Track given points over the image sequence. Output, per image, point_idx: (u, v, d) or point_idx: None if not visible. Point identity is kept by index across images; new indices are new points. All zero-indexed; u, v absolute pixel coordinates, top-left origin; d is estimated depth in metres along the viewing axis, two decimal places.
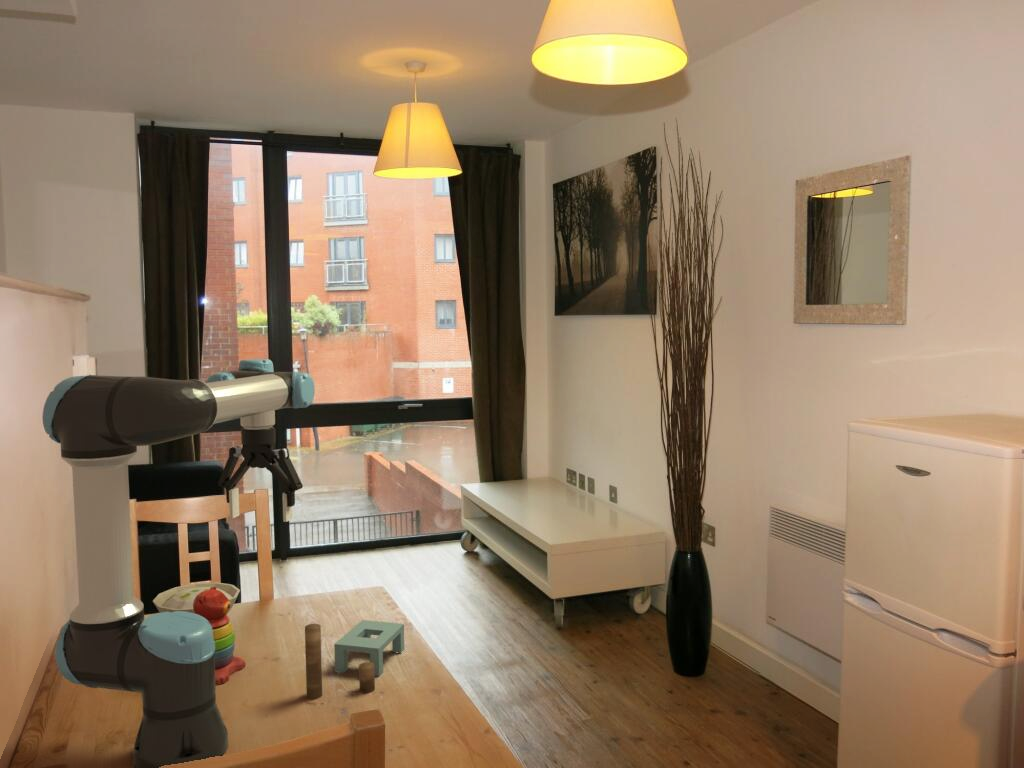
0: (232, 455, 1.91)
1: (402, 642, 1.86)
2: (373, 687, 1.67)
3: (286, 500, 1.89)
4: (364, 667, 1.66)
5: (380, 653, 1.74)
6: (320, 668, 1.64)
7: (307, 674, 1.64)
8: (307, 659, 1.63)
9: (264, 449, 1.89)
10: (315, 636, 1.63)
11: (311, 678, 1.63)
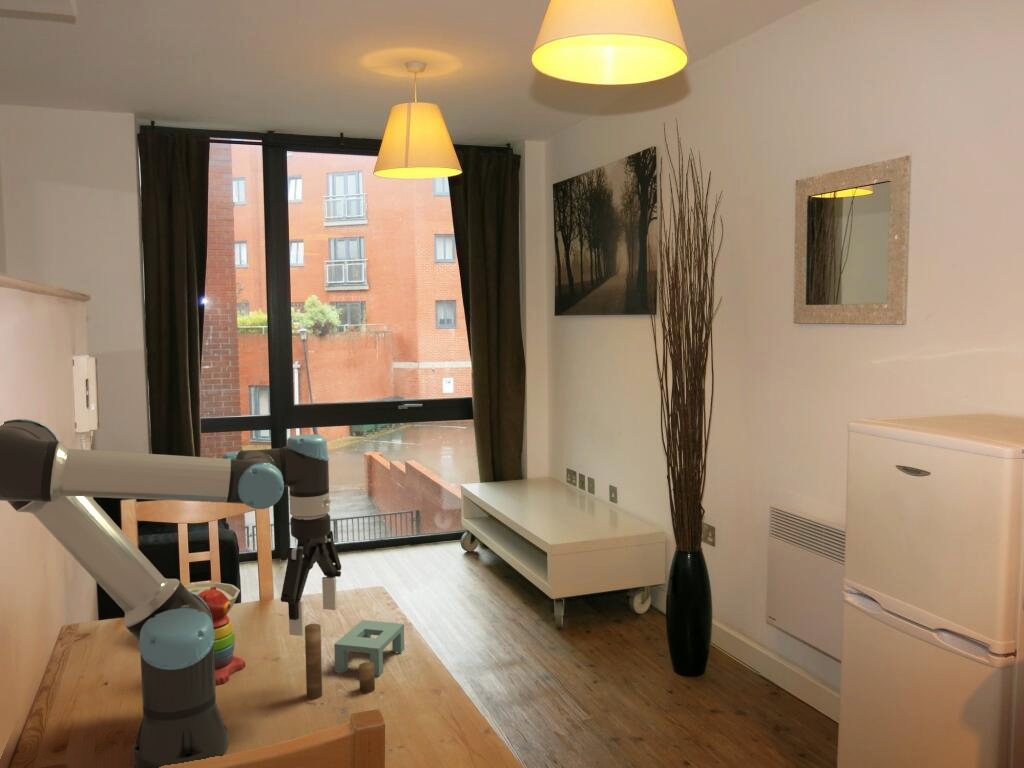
0: None
1: (402, 642, 1.86)
2: (373, 687, 1.67)
3: None
4: (364, 667, 1.66)
5: (380, 653, 1.74)
6: (320, 668, 1.64)
7: (307, 674, 1.64)
8: (307, 659, 1.63)
9: None
10: (315, 636, 1.63)
11: (311, 678, 1.63)
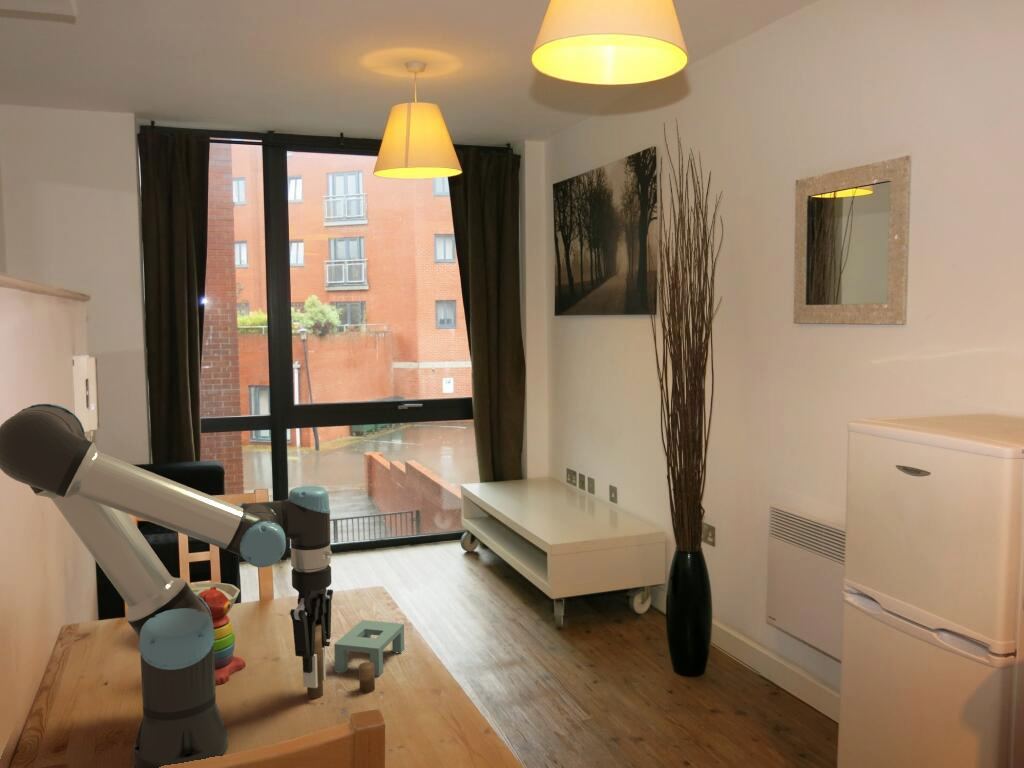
0: None
1: (402, 642, 1.86)
2: (373, 687, 1.67)
3: None
4: (364, 667, 1.66)
5: (380, 653, 1.74)
6: (321, 668, 1.65)
7: None
8: None
9: None
10: (315, 635, 1.63)
11: None
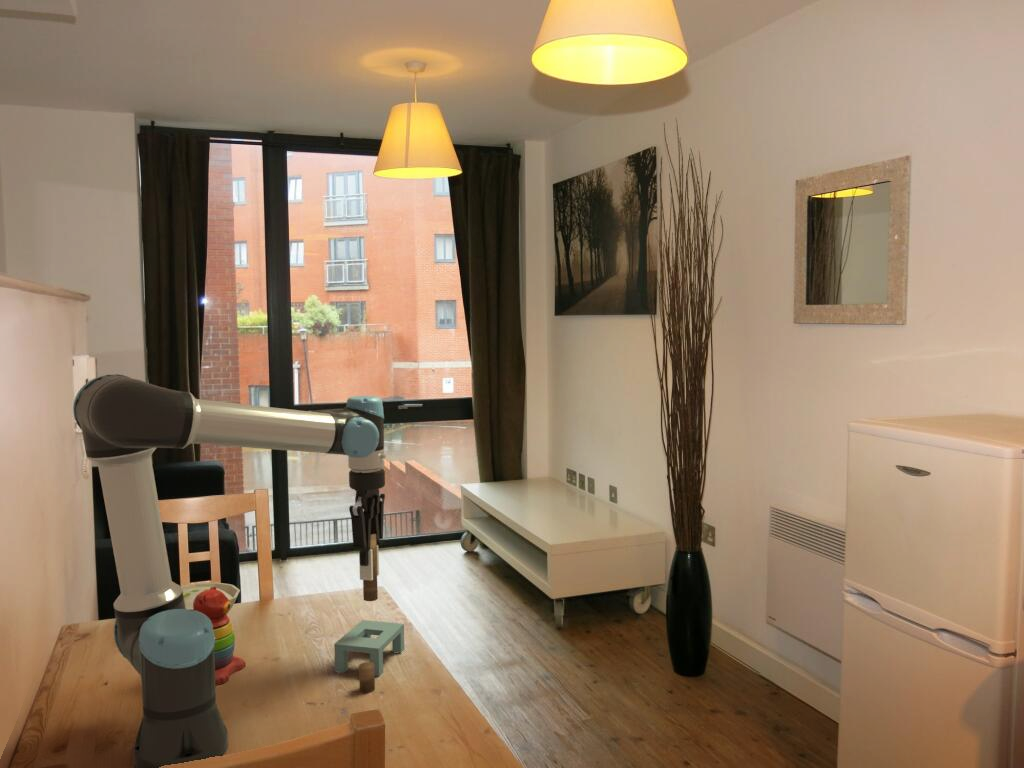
0: None
1: (402, 642, 1.86)
2: (373, 687, 1.67)
3: None
4: (364, 667, 1.66)
5: (380, 653, 1.74)
6: (376, 573, 1.79)
7: None
8: None
9: None
10: (371, 543, 1.78)
11: (368, 582, 1.79)
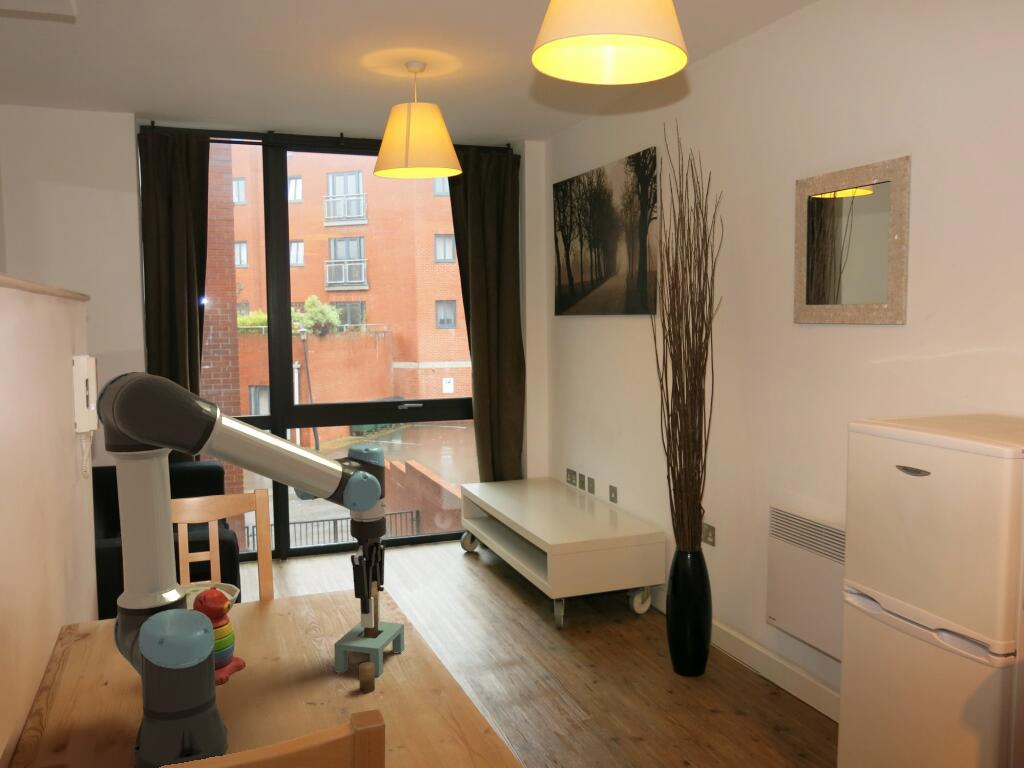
0: None
1: (402, 642, 1.86)
2: (373, 687, 1.67)
3: None
4: (364, 667, 1.66)
5: (380, 653, 1.74)
6: (377, 620, 1.81)
7: None
8: None
9: None
10: (372, 590, 1.79)
11: (369, 629, 1.80)
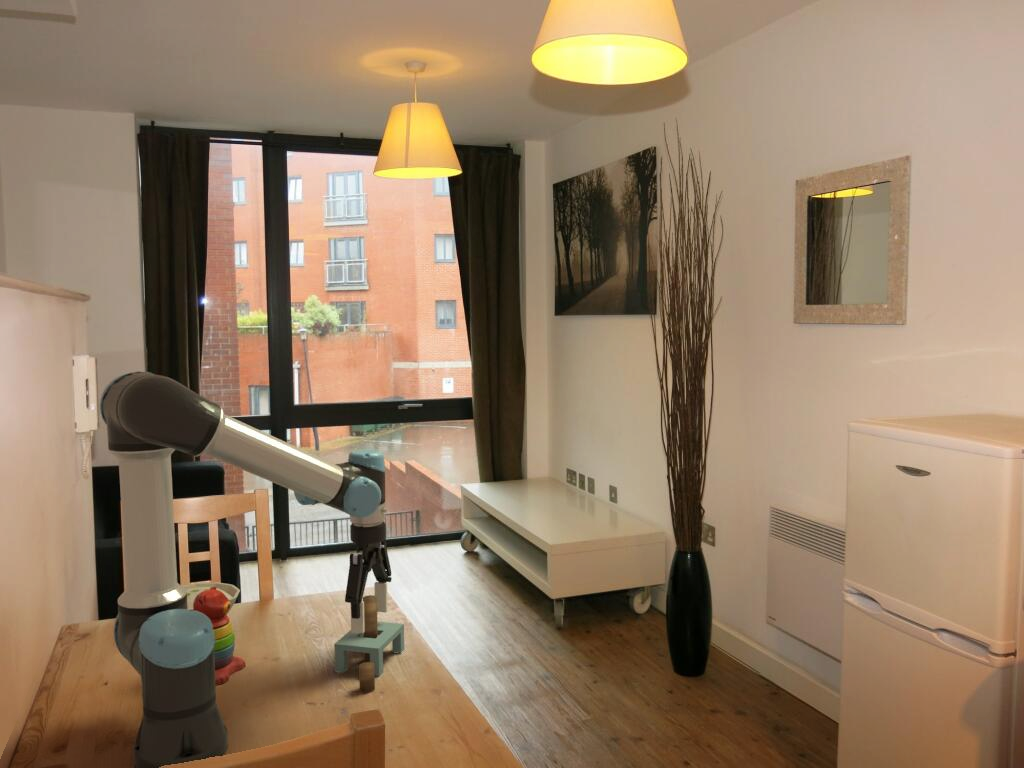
0: None
1: (402, 642, 1.86)
2: (373, 687, 1.67)
3: None
4: (364, 667, 1.66)
5: (380, 653, 1.74)
6: (376, 635, 1.81)
7: None
8: (365, 627, 1.80)
9: None
10: (372, 606, 1.79)
11: None
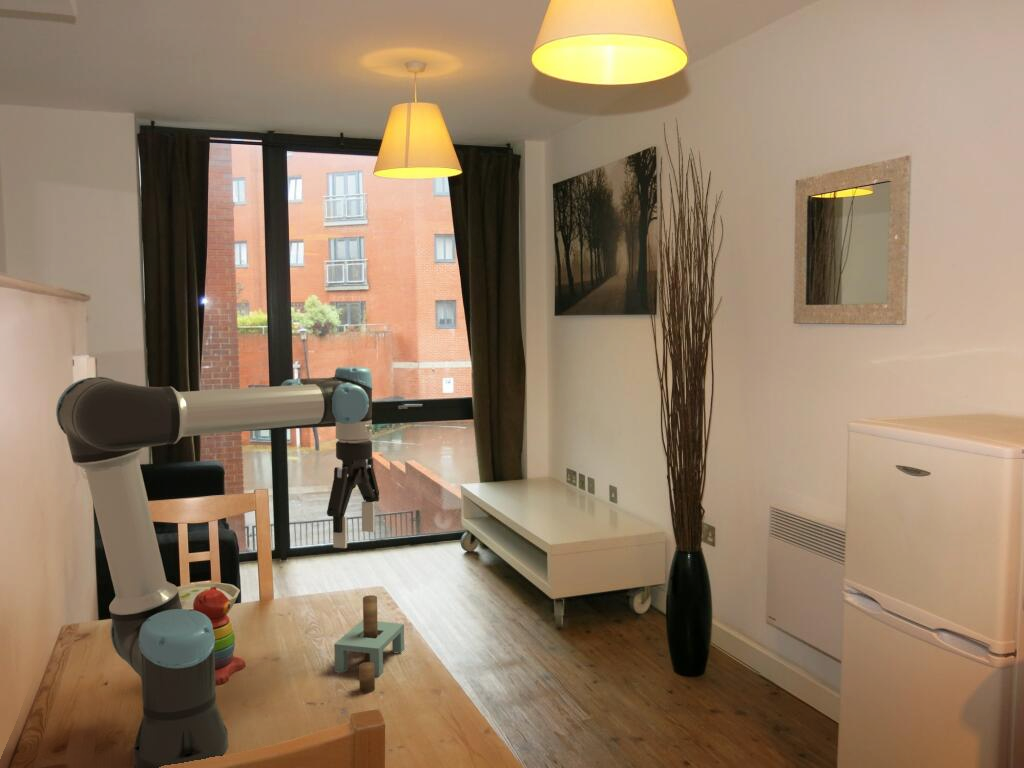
0: None
1: (402, 642, 1.86)
2: (373, 687, 1.67)
3: None
4: (364, 667, 1.66)
5: (380, 653, 1.74)
6: (376, 635, 1.81)
7: None
8: (365, 627, 1.80)
9: None
10: (372, 606, 1.79)
11: None
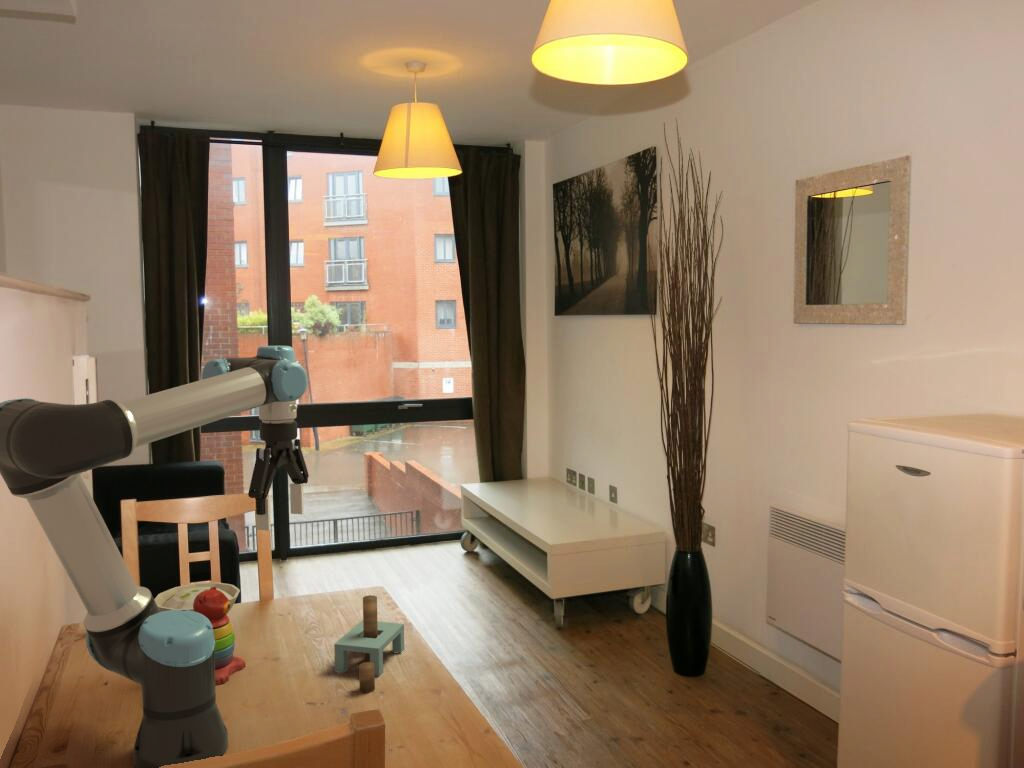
0: None
1: (402, 642, 1.86)
2: (373, 687, 1.67)
3: None
4: (364, 667, 1.66)
5: (380, 653, 1.74)
6: (376, 635, 1.81)
7: None
8: (365, 627, 1.80)
9: None
10: (372, 606, 1.79)
11: None
